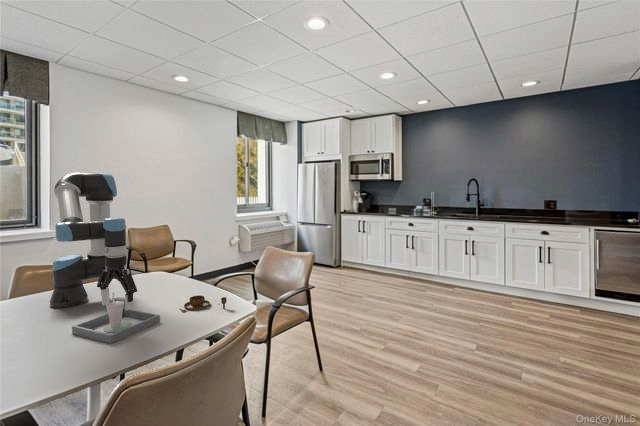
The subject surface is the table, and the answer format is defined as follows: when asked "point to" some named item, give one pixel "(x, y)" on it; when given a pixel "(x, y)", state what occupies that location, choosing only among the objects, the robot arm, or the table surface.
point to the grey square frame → (121, 331)
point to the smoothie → (115, 312)
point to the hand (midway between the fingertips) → (117, 306)
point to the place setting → (200, 303)
